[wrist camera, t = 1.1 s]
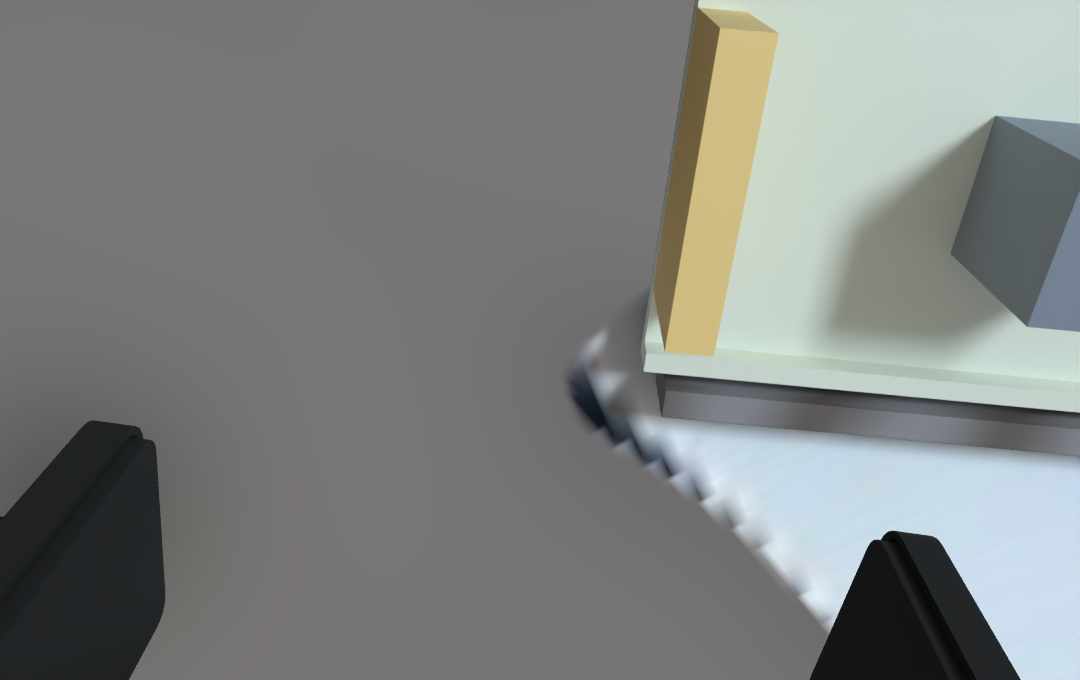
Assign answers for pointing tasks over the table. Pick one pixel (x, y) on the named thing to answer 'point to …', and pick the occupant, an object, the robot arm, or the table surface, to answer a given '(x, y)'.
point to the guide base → (869, 414)
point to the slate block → (1027, 221)
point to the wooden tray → (853, 197)
